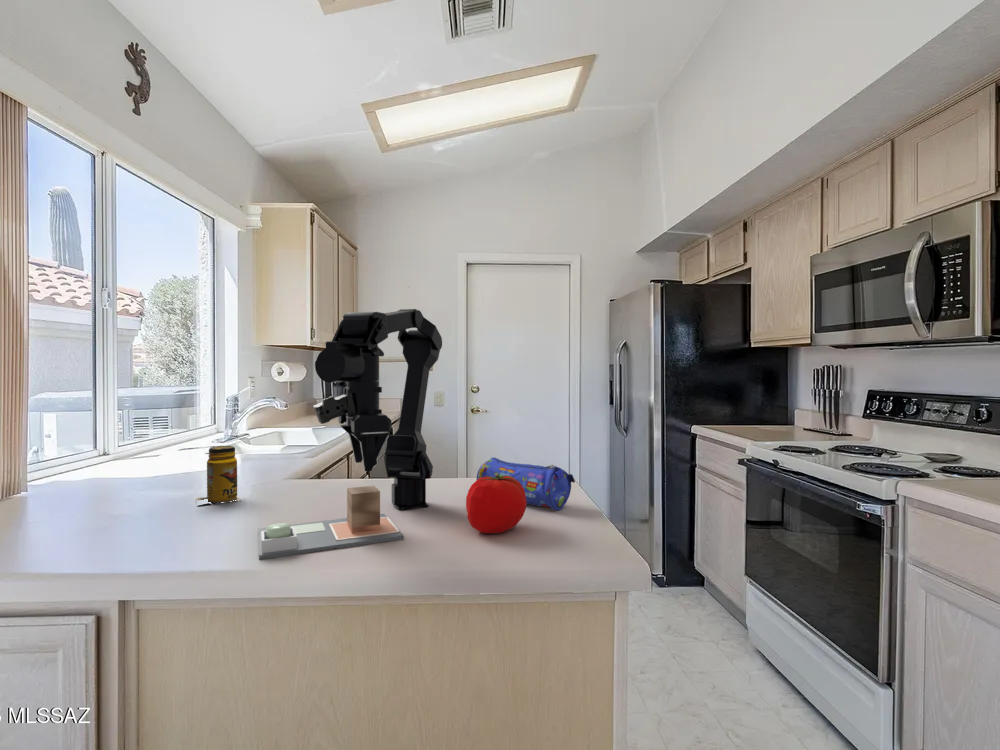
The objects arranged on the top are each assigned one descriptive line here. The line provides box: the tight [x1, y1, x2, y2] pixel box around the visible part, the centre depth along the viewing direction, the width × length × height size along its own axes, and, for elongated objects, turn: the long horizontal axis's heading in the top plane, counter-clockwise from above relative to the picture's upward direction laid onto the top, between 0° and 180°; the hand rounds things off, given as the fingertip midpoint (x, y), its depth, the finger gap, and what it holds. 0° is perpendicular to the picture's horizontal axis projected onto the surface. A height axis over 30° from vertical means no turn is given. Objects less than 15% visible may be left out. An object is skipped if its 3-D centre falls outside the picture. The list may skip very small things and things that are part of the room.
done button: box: [266, 522, 291, 539], centre depth 87 cm, size 4×4×2 cm
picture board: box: [257, 513, 404, 560], centre depth 94 cm, size 23×15×3 cm, turn 115°
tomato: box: [465, 475, 527, 535], centre depth 98 cm, size 11×13×10 cm
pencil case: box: [476, 457, 576, 512], centre depth 117 cm, size 22×9×10 cm, turn 52°
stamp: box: [346, 485, 381, 534], centre depth 96 cm, size 5×5×7 cm
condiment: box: [194, 445, 241, 503], centre depth 118 cm, size 7×8×12 cm
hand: (363, 466), depth 96 cm, fingers open, 9 cm apart
